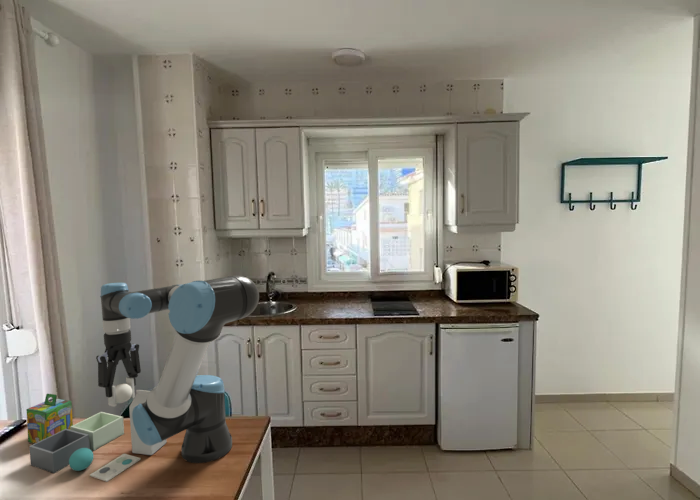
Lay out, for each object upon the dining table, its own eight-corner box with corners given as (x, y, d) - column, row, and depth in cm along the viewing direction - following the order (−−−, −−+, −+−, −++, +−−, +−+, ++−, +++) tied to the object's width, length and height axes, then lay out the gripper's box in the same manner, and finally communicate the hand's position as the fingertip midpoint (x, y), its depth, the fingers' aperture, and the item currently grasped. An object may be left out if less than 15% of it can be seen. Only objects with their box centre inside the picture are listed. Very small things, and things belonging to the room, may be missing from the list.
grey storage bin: (90, 453, 125) (88, 434, 125) (54, 473, 115) (52, 453, 115) (67, 446, 129) (66, 428, 129) (30, 465, 119) (29, 446, 119)
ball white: (137, 399, 131) (135, 381, 130) (120, 407, 125) (119, 389, 125) (124, 396, 133) (122, 379, 132) (107, 404, 127) (105, 386, 127)
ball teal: (98, 465, 119) (97, 445, 118) (78, 477, 113) (77, 457, 113) (85, 460, 121) (83, 442, 121) (64, 472, 116) (63, 452, 115)
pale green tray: (124, 433, 136) (123, 416, 136) (94, 450, 126) (92, 432, 126) (102, 428, 140) (101, 411, 140) (71, 444, 130) (70, 426, 130)
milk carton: (151, 455, 123) (148, 396, 122) (132, 453, 125) (128, 394, 123) (166, 443, 130) (163, 386, 129) (147, 440, 132) (144, 385, 130)
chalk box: (27, 443, 132) (23, 399, 131) (55, 428, 140) (51, 388, 139) (47, 447, 129) (44, 403, 128) (74, 432, 138) (71, 391, 137)
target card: (140, 459, 121) (140, 457, 121) (106, 481, 111) (106, 479, 111) (124, 454, 124) (124, 453, 124) (89, 476, 114) (89, 474, 114)
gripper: (134, 323, 137) (138, 388, 139) (79, 338, 120) (85, 412, 122) (150, 324, 135) (154, 391, 136) (96, 340, 117) (102, 416, 119)
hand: (122, 401), depth 129 cm, fingers closed on ball white, 6 cm apart
